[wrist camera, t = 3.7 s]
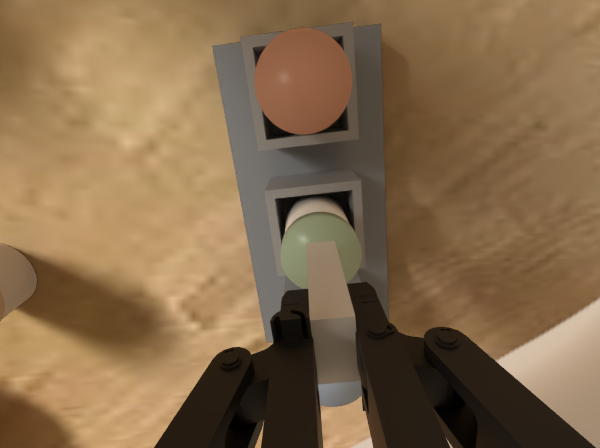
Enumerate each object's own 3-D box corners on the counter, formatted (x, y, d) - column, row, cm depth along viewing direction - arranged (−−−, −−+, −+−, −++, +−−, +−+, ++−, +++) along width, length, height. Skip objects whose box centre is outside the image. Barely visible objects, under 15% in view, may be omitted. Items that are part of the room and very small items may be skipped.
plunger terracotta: (262, 58, 20) (246, 34, 14) (334, 49, 20) (349, 21, 14) (272, 132, 21) (262, 139, 16) (339, 125, 21) (354, 128, 15)
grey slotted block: (222, 53, 25) (188, 27, 18) (371, 34, 25) (403, -2, 17) (269, 323, 34) (260, 383, 26) (381, 312, 33) (405, 370, 26)
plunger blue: (295, 301, 26) (294, 355, 20) (351, 295, 26) (367, 348, 20) (302, 346, 27) (302, 409, 21) (354, 341, 27) (370, 403, 21)
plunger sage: (281, 195, 23) (274, 222, 17) (344, 188, 23) (359, 213, 17) (289, 252, 24) (285, 296, 18) (348, 246, 24) (363, 288, 18)
